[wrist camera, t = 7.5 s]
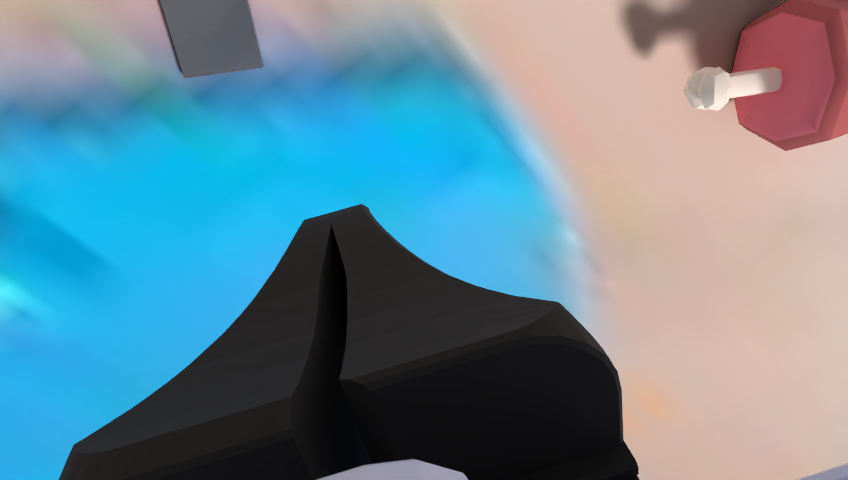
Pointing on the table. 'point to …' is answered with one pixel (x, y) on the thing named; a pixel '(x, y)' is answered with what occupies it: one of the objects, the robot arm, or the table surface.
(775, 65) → the meat
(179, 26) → the slab rail
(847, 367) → the table surface
